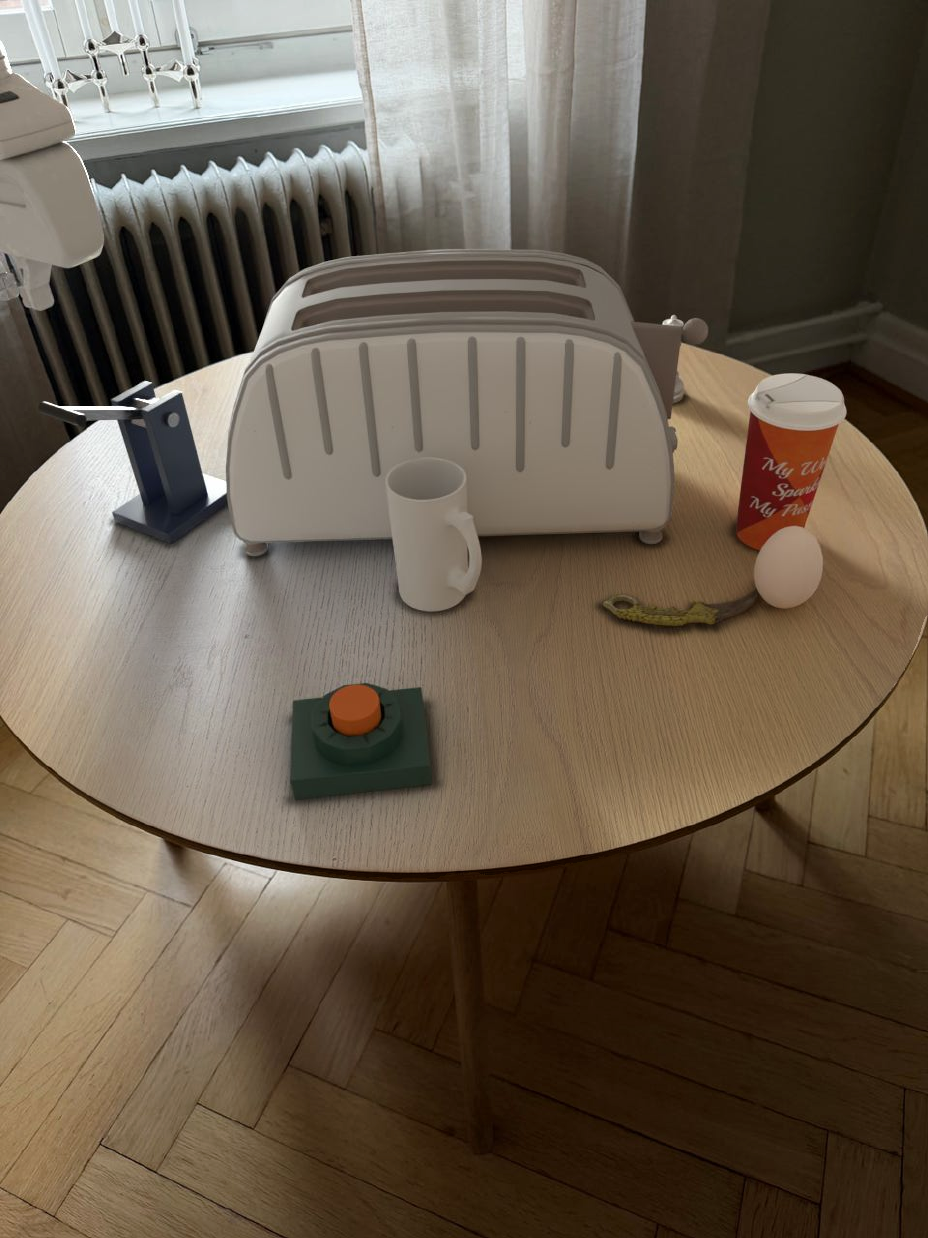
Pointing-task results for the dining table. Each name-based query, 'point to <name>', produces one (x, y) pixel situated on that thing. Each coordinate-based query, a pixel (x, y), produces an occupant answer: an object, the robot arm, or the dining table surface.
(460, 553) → the mug
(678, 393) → the chess piece
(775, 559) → the egg
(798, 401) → the coffee cup
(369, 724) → the button
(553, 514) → the toaster
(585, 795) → the dining table surface
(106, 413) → the lever
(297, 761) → the button box
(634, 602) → the knife
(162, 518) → the bracket
